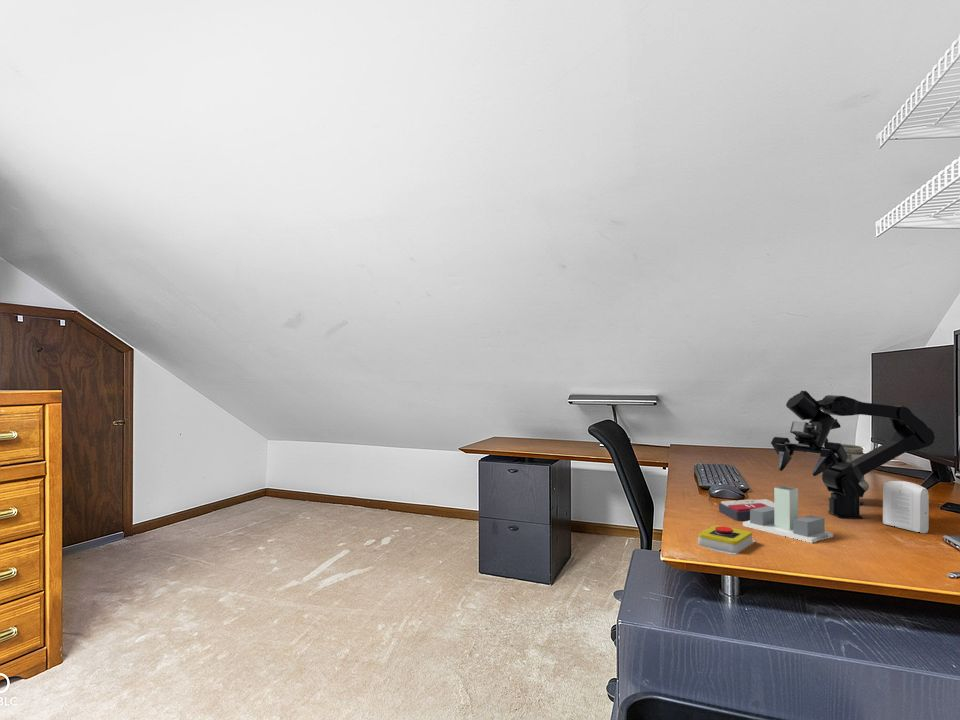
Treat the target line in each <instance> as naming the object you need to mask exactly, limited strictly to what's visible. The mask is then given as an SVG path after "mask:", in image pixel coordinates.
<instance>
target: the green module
mask: <svg viewBox="0 0 960 720" xmlns="http://www.w3.org/2000/svg"><path fill="white" fill-rule="evenodd" d="M773 491H774V492H773V493H774V494H773V495H774V497H773V499H774V500H773V502H774V526H775V527H780V528H784V529H788V530H791V529H793V519H796V518H799V488H797V487H795V488H794V487H791V486H790V487H789V486H784V485H783V486H782V485H781V486H776V487H774V490H773Z"/></svg>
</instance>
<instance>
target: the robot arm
mask: <svg viewBox="0 0 960 720" xmlns="http://www.w3.org/2000/svg"><path fill="white" fill-rule="evenodd" d="M785 406H786V408H787V409H789V410H790V411H791V412H792V413H793V414H794V415H795V416H797V417H798V418H799V419H800V420H802V421H796V420H795V421H792V423H791V427H790V432H789V433H791V434H793V435H794V439H795V441H797V442H792V441H790V439H789V438H788V437H783V436H782V437H780V436H774V437H773V438H772V440H771V442H770V444H771V446H772V448H773V449H774V451H775V452H776V453H777V454H776V455H778V470H779V471H780V472H782V471H784V469H785V468H786V467H787V466H788V464H789V462H790V461H791V460H792V459H793V458H792V456H793V455H794V453H795V452H796V451H797V452H804V453H807V454H814V455H819V458H818V460H817V461H816V463H815V466H814V468H813V471H812V473H811V474H812V476H813V477H816V476H819V474H821V473H822V475H821V478H822V479H821V480H822V482H823V484H824V486H825V485H826V486H825V487H826V489H827V491H828V492H830V497H831V498H830V497H829V498H828V499H829V500H828V505H829V506H828V507H829V510H827V513H829V514H831V515H833V516H835V517H837V518H843V519H845V518H846V519H863V518H864V517H863V515H861V514H860V505H859V499H860V498H863V497H864V495H865V493H866V492H865V490H864V489H863V488H862V487H861V486H860V485H859V483H860V481H861V479H862V477H863V476H864V477H865V475H866V474H869V473H871V472H872V471H874V470H876V469H878V468H880V467H882V466H883V465H885V464H887V463H889V462H890V461H892V460H895V459H896V458H898V457H899V456H902V455H903V454H905V453H908V452H909V453H910V452H914V451H920V450H923V449H926V448H929V447H931V446H932V445H934V443H935V439H936V438H935V432H934V431H933V430H932V429H931V428H930V427H929V426H928V425H927V424H926V423H925V422H924V421H923V420H922V419H920V418H919V417H917V416H916V415H915V414H914V413H913V412H912V410H910V408H908V407H907V406H904V405H888V404H880V403H871V402H864V401H859V400H858V399H855V398H852V397H848V396H845V395H833V394H831V395H830V394H827V395H825V396H824V397H823V398H822V399H820V400H816V399H815V398H814V397H813V396H812V395H811V394H810V393H809V392H808V391H807V390H801V391H800V392H798V393H796V394H795V395H793V396H792V397H790V398H788V400H787V402H786V405H785ZM857 415H858V416H860V415H862V416H871V417H880V418H887V419H890V420H891V425H892V429H893V430H894V431H895V432H894V434H893V436H892V437H891V439H890V440H888V441H886V442H884V443H883V444H881V445H879V446H877V447H876V448H875V447H874V448H873V449H872V450H870V451H868V452H866V453H864V455H862V456H861V457H859V458H857V459H855V460H853V461H852V462H846V461H847V458H848V455H847V453H846V451H845V450H844V448H843V446H842V445H841V444H842V443H841V442H831V441H829V439H828V436H829V434H830V432H831V430H836V429H840V428H841V423H840V422H839V421H838V419H837V418H834V417H833V416H837V417H839V416H840V417H846V416H847V417H848V416H857ZM806 420H807V421H808V422H806Z"/></svg>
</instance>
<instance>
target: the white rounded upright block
mask: <svg viewBox="0 0 960 720" xmlns="http://www.w3.org/2000/svg"><path fill="white" fill-rule="evenodd" d="M929 495H930V494H929V492H928V489H927V488H925V487H923V486H922V485H919V484H917V483H914V482H909V481H904V480H891V481H885V482H884V483H883V488H882V523H883V524H884V525H887V526H892V527H894V526H895V528H900V529H903V530H906V531H911V532H915V533H918V532H920V533H919V534H928V532H929V526H930V525H929V521H930V520H929V519H930V518H929V515H930V514H929V513H930V512H929V510H930V509H929V505H930V503H929V502H930V501H929V499H930V498H929Z"/></svg>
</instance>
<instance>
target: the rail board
mask: <svg viewBox="0 0 960 720" xmlns="http://www.w3.org/2000/svg"><path fill="white" fill-rule="evenodd" d="M742 526H743V527H746V528H750V529H754V530H758V531H763V532H765V533H769V534H774V535H777V536H781V537H785V536H786V538H790V539H793V538H794V539H793V540H797V539H798V541H801V540H802V541H801V542H805V541H806V542H805V543H809V542H810V543H809V544H814V543H817V541H818V542H821V541H824V539H825V540H828V539H831V538H834V533H833V532H830V531H826V526H825V517H820V516H816V515H812V514H809V515H806V516H801V517H798V518H796V519H793V529H791V530H788V529H784V528H780V527H775V526H774V507H769V506H765V507H761V508H756V509H751V510H750V520H748V521H742ZM830 537H831V538H830ZM827 538H828V539H827ZM820 540H821V541H820ZM813 542H814V543H813Z"/></svg>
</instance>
